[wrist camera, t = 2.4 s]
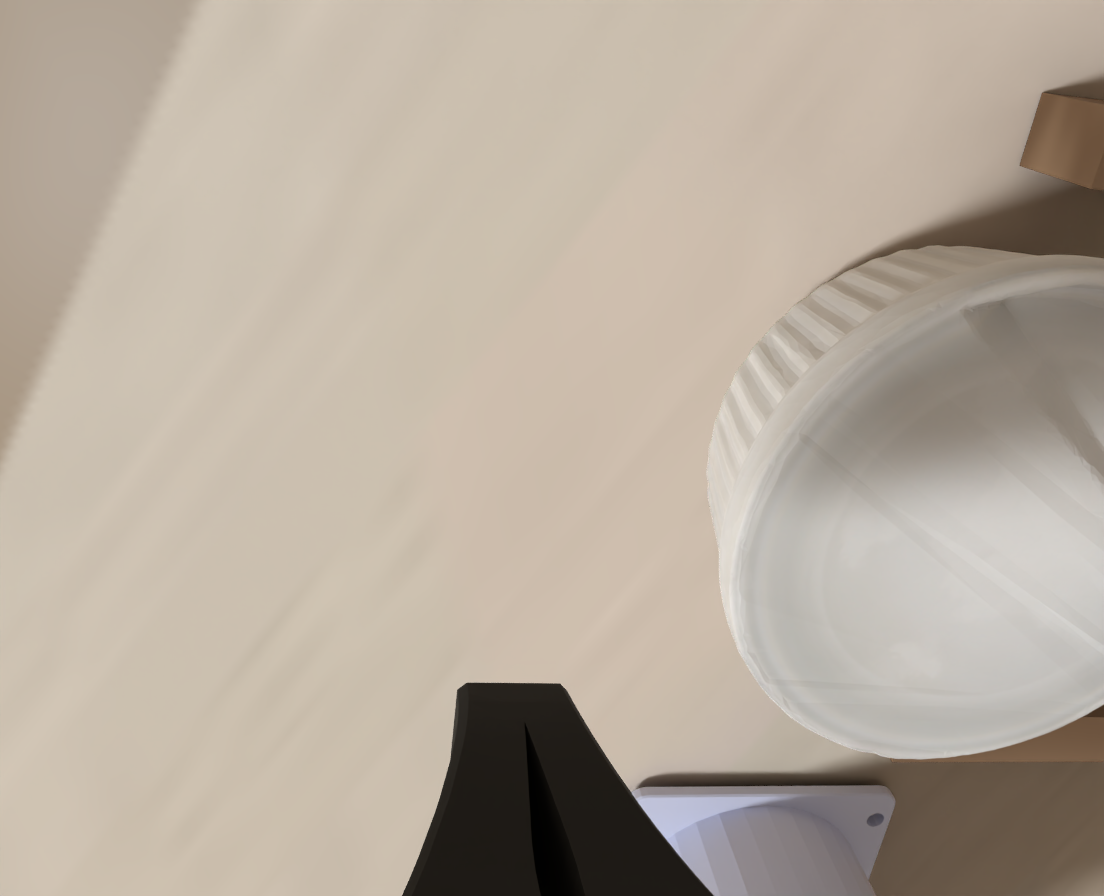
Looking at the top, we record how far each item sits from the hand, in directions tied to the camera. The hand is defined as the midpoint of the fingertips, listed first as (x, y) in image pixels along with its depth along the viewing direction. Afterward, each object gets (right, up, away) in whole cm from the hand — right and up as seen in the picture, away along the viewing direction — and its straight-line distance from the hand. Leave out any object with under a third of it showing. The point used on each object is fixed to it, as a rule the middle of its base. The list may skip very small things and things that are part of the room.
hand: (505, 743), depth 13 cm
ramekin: (+9, +4, +11) cm, 15 cm away
